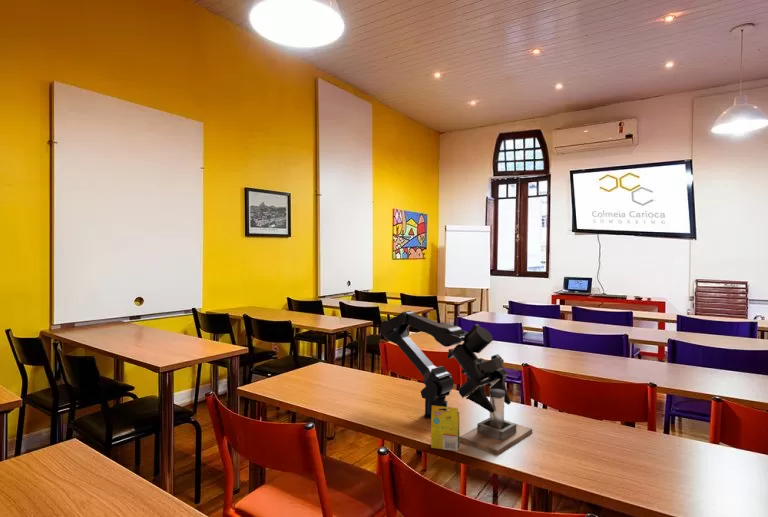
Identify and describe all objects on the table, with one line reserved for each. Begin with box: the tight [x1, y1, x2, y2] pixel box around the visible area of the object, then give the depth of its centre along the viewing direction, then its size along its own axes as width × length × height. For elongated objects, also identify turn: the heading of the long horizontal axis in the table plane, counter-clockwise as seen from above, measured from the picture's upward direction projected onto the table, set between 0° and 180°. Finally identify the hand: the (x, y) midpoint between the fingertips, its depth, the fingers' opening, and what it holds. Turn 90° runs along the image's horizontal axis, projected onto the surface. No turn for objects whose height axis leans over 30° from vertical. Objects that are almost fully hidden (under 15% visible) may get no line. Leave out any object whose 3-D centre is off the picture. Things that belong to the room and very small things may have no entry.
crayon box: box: [430, 405, 460, 453], centre depth 120 cm, size 7×3×12 cm, turn 72°
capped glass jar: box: [488, 388, 505, 430], centre depth 127 cm, size 4×4×12 cm
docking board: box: [459, 417, 533, 456], centre depth 127 cm, size 12×20×4 cm, turn 136°
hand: (501, 407), depth 126 cm, fingers open, 9 cm apart
